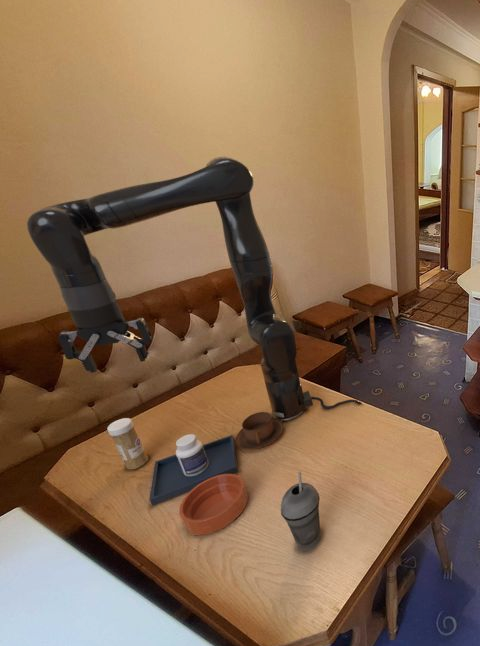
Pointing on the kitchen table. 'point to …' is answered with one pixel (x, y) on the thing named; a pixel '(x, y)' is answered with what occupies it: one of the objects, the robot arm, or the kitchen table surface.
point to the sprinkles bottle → (128, 443)
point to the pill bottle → (191, 455)
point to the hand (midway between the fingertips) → (119, 365)
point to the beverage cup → (302, 514)
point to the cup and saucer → (259, 431)
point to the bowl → (213, 504)
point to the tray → (175, 483)
